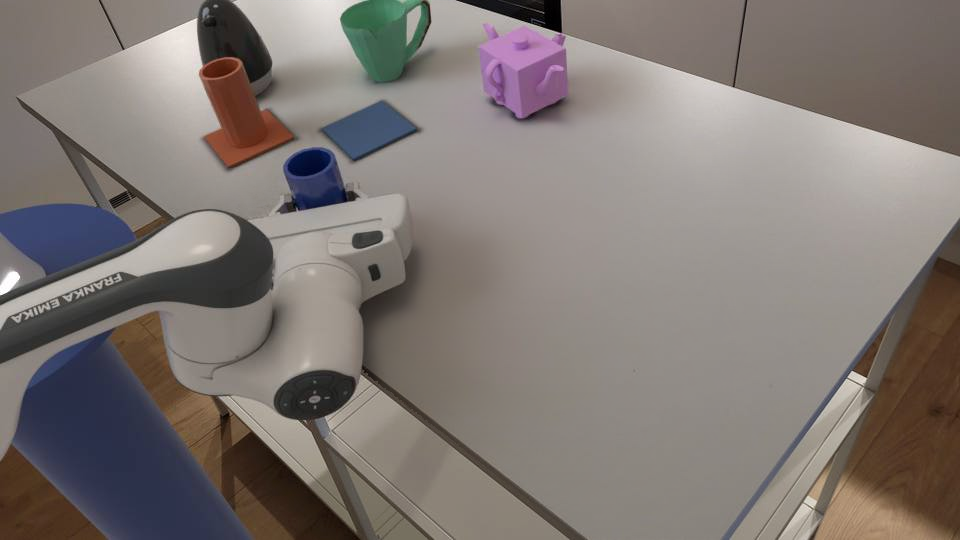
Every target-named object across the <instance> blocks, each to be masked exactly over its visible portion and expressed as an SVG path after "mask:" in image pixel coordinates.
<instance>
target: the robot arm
mask: <svg viewBox="0 0 960 540" xmlns="http://www.w3.org/2000/svg"><path fill="white" fill-rule="evenodd" d="M345 189H346V194H347V196H348V201H349V202H346V203H340V204H335V205H329V206H324V207H318V208H313V209H307V210H302V211H298V209H297V206H296V203H295V201H294V198H293V196H292V193H286V194H281V195H279V203H277V204H276V205H275V206H274V207H273V209H271V210H270V211H269V212H268V215H267V216H264V217H263V216H262V217H259V218H253V219H248V220H247V219H246V218H243V217H241V216H240V215H237V214H235V213H233V212H229V211H227V210H222V209H216V208H203V209H202V208H201V209H196V210H191V211H188V212H186V213H182V214H181V215H178V216H176V217H174V218H172V219H170V220H168V221H166V222H165V223H163V224H161V225H160V226H158V227H156V228H154V229H153V230H151V231H149V232H148V233H146V234H145V235H143V236H141V237H139V238H137V240H135V241H133V242H131V243H129V244H126V245H124V246H122V247H119V248H117V249H114V250H112V251H109V252H107V253H104V254H102V255H99V256H97V257H94V258H92V259H89V260H86V261H84V262H81V263H79V264H76V265H74V266H71V267H69V268H66V269H64V270H61V271H59V272H56V273H54V274H51V275H48V276H46V273H45V271H44V269H43V268H42V267H41V266H40V265H39V264H38V263H36V262H34V261H33V260H31V259H30V258H29V257H27V256H26V255H25V254H23V253H22V252H21V251H20V250H18V249H17V248H16V247H15V246H14V245H13V244H12V243H11V242H10V241H9V240H8V239H7V238H6V237H5V236H4V235H3V234H2V233H1V232H0V462H1V461H2V460H3V459H4V457H5V455H6V454H7V452H8V451H9V448H10V446H11V445H12V444H11V443H12V440H13V438H14V435H15V432H16V429H17V425H18V421H19V416H20V410H21V405H22V400H23V396H24V393H25V391H26V388H27V386H28V384H29V382H30V380H31V379H32V377H33V375H34V374H35V373H36V371H37V370H38V369H39V368H40V367H41V366H42V365H43V364H44V363H45V362H46V361H47V360H48V359H49V358H51V357H52V356H54V355H55V354H57V353H58V352H60V351H62V350H64V349H66V348H68V347H70V346H73V345H75V344H77V343H80V342H82V341H84V340H87V339H89V338H91V337H94V336H96V335H98V334H101V333H103V332H105V331H108V330H110V329H112V328H115V327H116V328H118V327H119V326H122V325H125V324H126V323H129V322H131V321H133V320H135V319H138V318H141V317H143V316H145V315H147V314H150V313H154V312H158V316H159V320H160V325H161V329H162V331H161V333H162V338H163V343H164V348H165V351H166V356H167V360H168V363H169V368H170V371H171V374H172V376H173V377H174V379H175V380H176V382H178V383H179V384H180V385H181V387H184V388H185V389H186V390H189V391H191V392H193V393H195V394H199V395H203V396H206V397H232V396H234V397H240V398H245V399H249V400H253V401H256V402H258V403H261V404H263V405H265V406H267V407H268V408H270V409H271V410H272V411H274V413H276V414H277V415H278V416H280V417H283V418H286V419H289V420H292V421H293V420H294V421H312V420H313V421H314V420H317V419H321V418H325V417H328V416H330V415H333V413H336V412H337V411H339V410H341V409H342V408H343V407H344V406H345V405H346V404H347V403H349V401H350V400H351V399H352V398H353V396H354V394H355V392H356V390H357V388H358V386H359V382H360V380H361V376H362V375H361V374H362V369H363V362H364V361H363V360H364V324H363V318H362V315H361V313H360V309H361V307H362V304H363V303H364V302H366V301H367V300H370V299H372V298H374V297H375V296H377V295H379V294H381V293H384V292H386V291H388V290H391V289H393V288H395V287H397V286H399V285H401V284H403V283H404V282H405V281H406V267H405V261H406V260H407V259H408V257H409V256H410V253H411V250H412V245H413V234H414V233H413V217H412V216H413V215H412V212H411V207H410V203H409V200H408V198H407V196H405V195H404V194H401V193H399V192H396V193H390V194H385V195H380V196H374V197H369V196H368V195H367V194H366V193H365V192H364V191H363V190H362V189H361V186H360V183H359V181H358V180H357V181H354V182H349V183H345Z"/></svg>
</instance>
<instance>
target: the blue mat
mask: <svg viewBox="0 0 960 540" xmlns="http://www.w3.org/2000/svg"><path fill="white" fill-rule="evenodd" d="M321 131H323V133H324V134H325V135H326V136H328V137H329V138H330V140H331V141H333V143H335V144H336V145H337V146H338V147H339V148H340V149H341V150H342V151H343V152H344V153H345V154H346V155H347V156H348V157H350V159H352V160H353V162H355V161H357V160H359V159H362V158H363V157H365V156H367V155H370V154H371V153H374V152H376V151H379V150H380V149H382V148H384V147H386V146H388V145H390V144H391V143H394V142H396V141H399V140H400V139H402V138H404V137H406V136H409V135H410V134H412V133H415V132H417V131H418V130H417V127H415V126H414V124H412V123H411V122H409V121H408V120H407V119H405V117H403V116H402V115H400V114H399V113H398V112H396V110H394V109H393V108H392V107H390V105H388V104H387V103H386V102H384V101H383V100H380V101H378V102H375V103H374V104H371V105H369V106H367V107H365V108H362V109H360V110H358V111H356V112H353V113H351V114H349V115H347V116H345V117H343V118H341V119H338V120H336V121H334V122H332V123H329V124H328V125H327V124H326V125H325V126H323V127H321Z"/></svg>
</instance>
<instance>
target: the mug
mask: <svg viewBox="0 0 960 540" xmlns="http://www.w3.org/2000/svg"><path fill="white" fill-rule="evenodd" d="M419 6H420V16H419V20H418V22H417V25H416V28H415V31H414V32H413V36H412V39H411V40H410V42H409V43H408V41H407V40H408V39H407V38H408V37H407V36H408V34H407V32H408V31H407V30H408V29H407V28H408V14H409V13H410V12H412V11H413V10H414V9H416V8H417V7H419ZM339 21H340V26H341V29H342V32H343V34H344V35H345V37H346V38H347V41H348V43H349V44H350V46H351V48H352V50H353V52H354V54H355V56H356V57H357V59H358V61H359V62H360V64H361V66H362V67H363V69H364V70H365V71H366V73H367V74H368V75H369V77H370V78H371V79H372V80H373V81H374V82H377V83H389V82H392V81H395V80H397V79H398V78H400V77H401V76H402V74H403V70H404V66H405V65H406V63H408V61H409V60H410V59H411V58H412V57H413V56H414V55H415V53H416V52H418V50H419V49H420V48H421V47H422V44H423V43H424V40H425V38H426V36H427V34H428V31H429V29H430V27H431V24H432V11H431V3H430V0H404V1H403V2H402V1H401V0H362V1H359V2H357V3H355V4H353V5H351V6H349V7H347V8H346V9H345V10H343V12H342V13H341V15H340V17H339Z"/></svg>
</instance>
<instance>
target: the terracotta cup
mask: <svg viewBox="0 0 960 540" xmlns="http://www.w3.org/2000/svg"><path fill="white" fill-rule="evenodd" d="M198 77H199V79H200V82H201V84H202V87H203V88H204V91H205V93H206V95H207V99H209V102H210V106H211V107H212V109H213V112H214V114H215V117H216V119H217V122H218V123H219V125H220V129H222V130H223V133H224V135H225V137H226V140H227V141H228V143H229V145H230V146H232V147H234V148H247V147H251V146H254V145H256V144H258V143H260V142H261V141H263V140H264V139H265V138H266V136H267V134H268V130H267V127H266V124H265V121H264V118H263V116H262V113H261V111H262V110H261V108H260V106H259V103H258V99H257V98H256V96H255V95H254V92H253V90H252V87H251V84H250V82H249V79H248V76H247V74H246V71H245V69H244V66H243V63H242V61H241V60H240V59H238V58H234V57H224V58H220V59H216V60H214V61H211V62H209V63H207V64H206V65H204V66H202V67H201V68H199V71H198Z"/></svg>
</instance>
